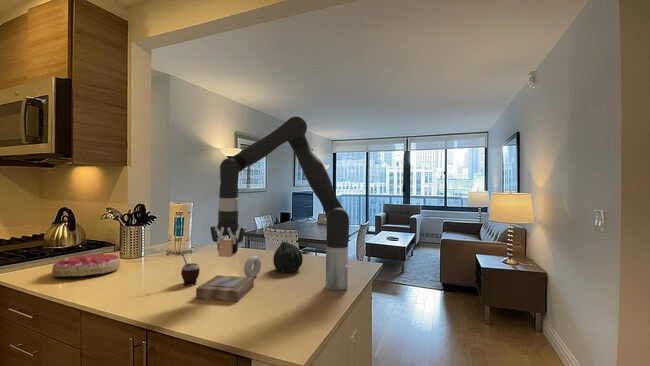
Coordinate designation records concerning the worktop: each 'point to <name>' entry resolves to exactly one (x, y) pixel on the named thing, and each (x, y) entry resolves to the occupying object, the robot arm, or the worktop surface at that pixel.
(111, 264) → the cake
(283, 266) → the squash
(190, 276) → the mate gourd
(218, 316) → the worktop surface
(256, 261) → the donut
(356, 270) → the worktop surface
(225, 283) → the walnut base
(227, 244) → the terracotta block
